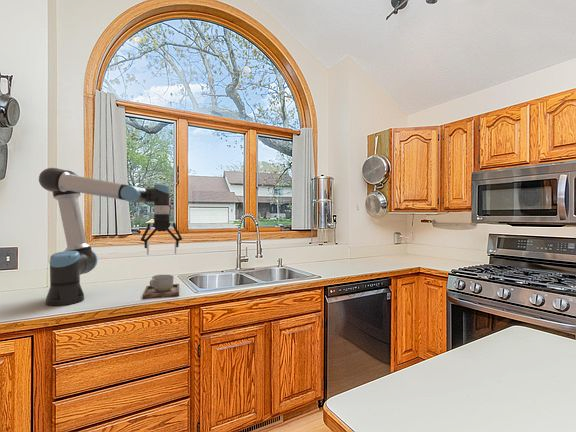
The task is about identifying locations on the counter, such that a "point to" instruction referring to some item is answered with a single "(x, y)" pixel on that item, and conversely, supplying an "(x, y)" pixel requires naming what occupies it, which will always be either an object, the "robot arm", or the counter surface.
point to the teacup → (162, 283)
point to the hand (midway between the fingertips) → (161, 254)
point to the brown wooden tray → (152, 293)
